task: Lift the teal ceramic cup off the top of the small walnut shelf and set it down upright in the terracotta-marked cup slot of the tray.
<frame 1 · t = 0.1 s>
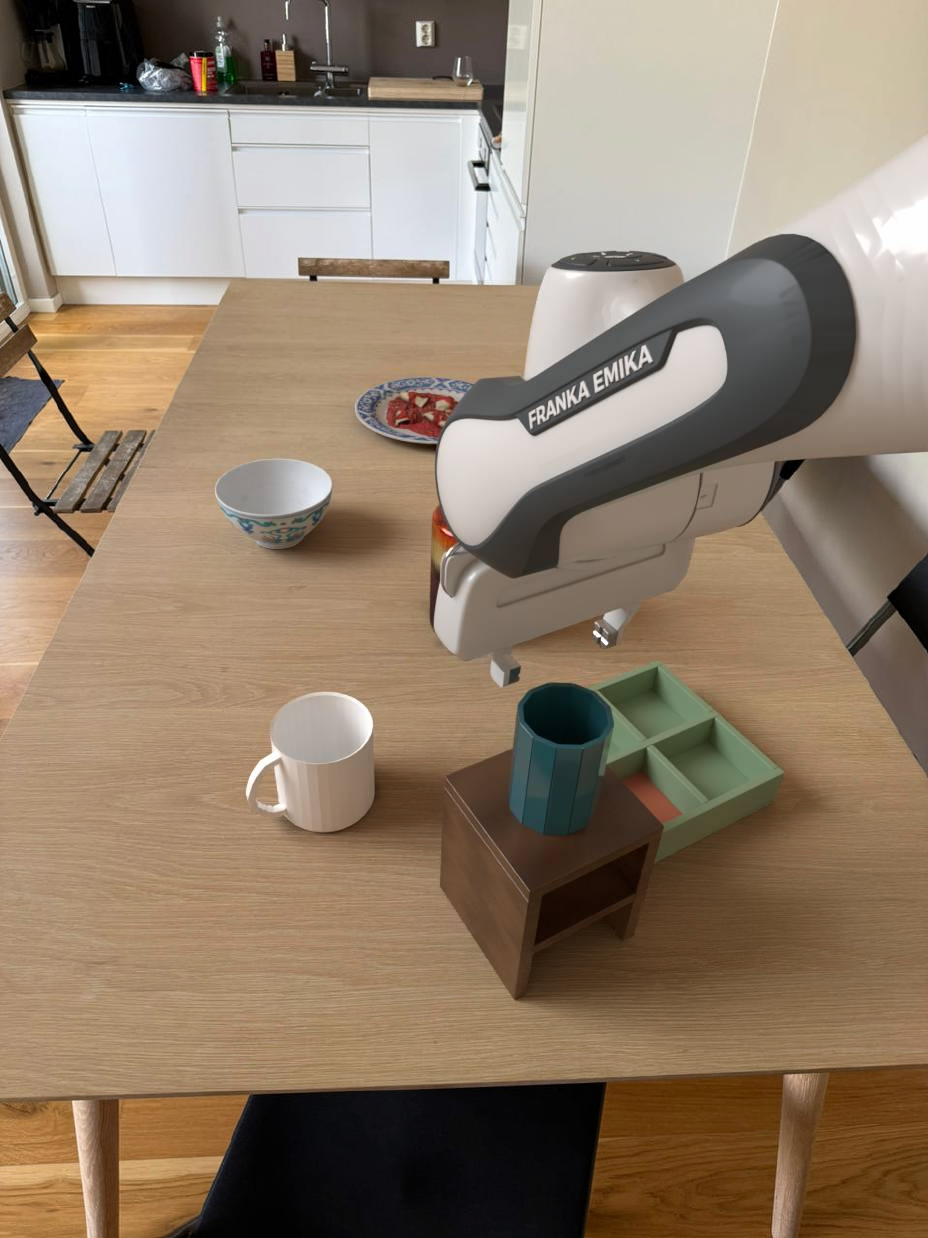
hand: (556, 661, 68), 22 cm above the table, tool pointing down, fingers open, 8 cm apart
cup: (552, 800, 67), point 14 cm above the table, touching shelf
vase: (473, 621, 107), on the table
tray: (639, 773, 89), on the table
mug: (312, 802, 84), on the table
chinaware: (279, 537, 120), on the table
ceramic plate: (431, 420, 151), on the table
shelf: (534, 909, 76), on the table
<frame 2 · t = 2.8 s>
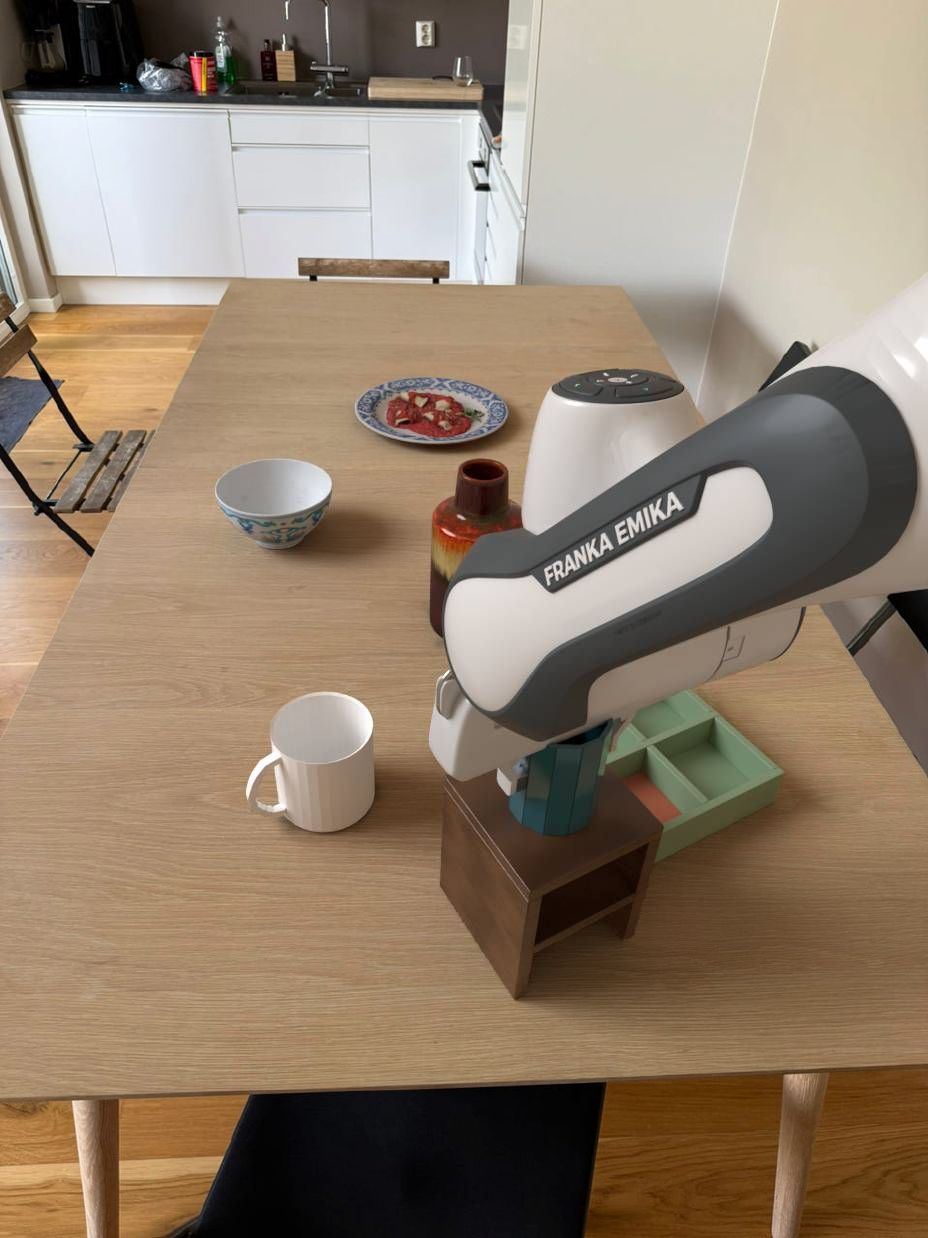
hand: (557, 766, 65), 18 cm above the table, tool pointing down, fingers closed on cup, 6 cm apart
cup: (551, 800, 67), point 14 cm above the table, touching gripper, shelf
everything else where it was.
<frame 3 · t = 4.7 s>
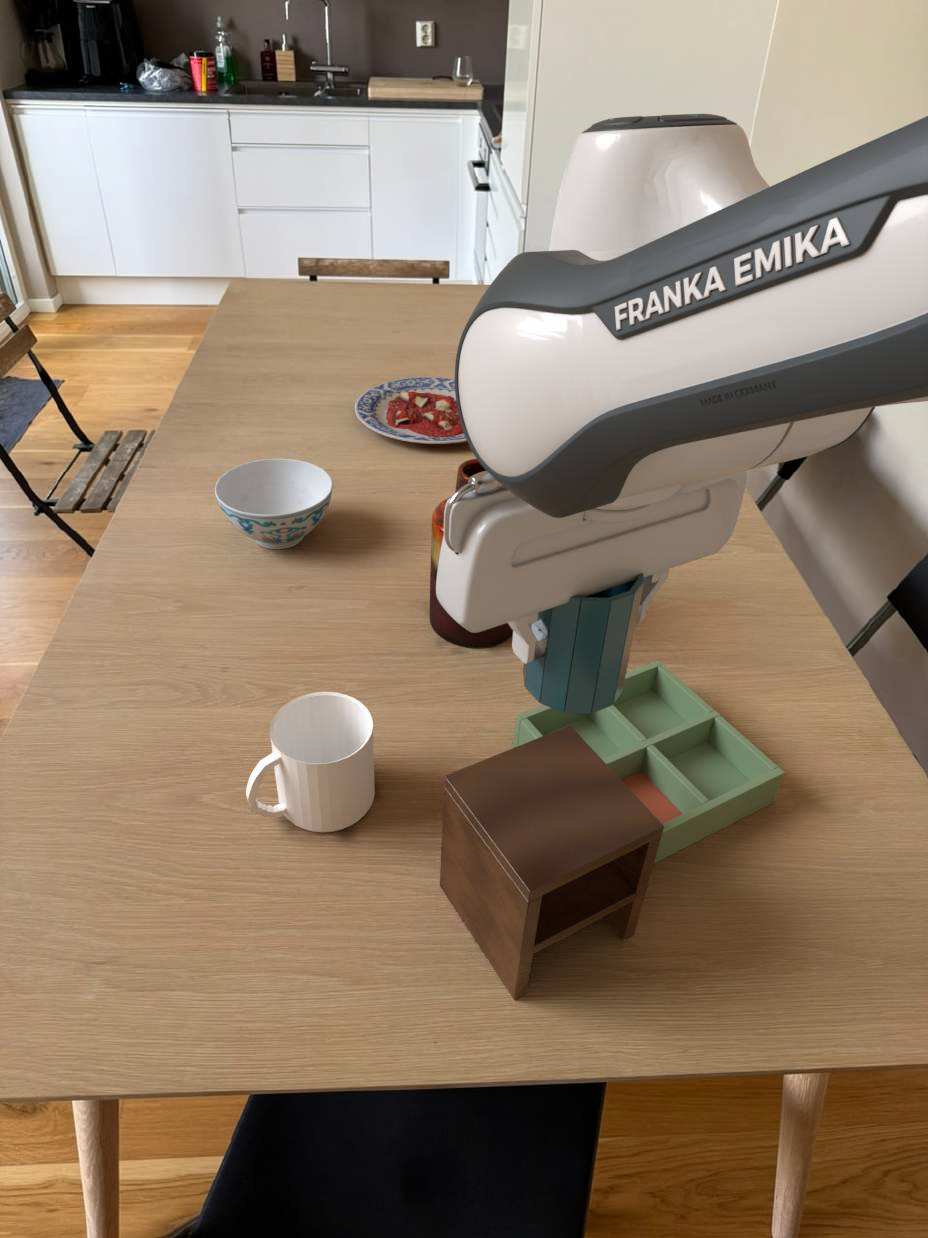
hand: (579, 637, 58), 30 cm above the table, tool pointing down, fingers closed on cup, 6 cm apart
cup: (572, 680, 60), point 26 cm above the table, touching gripper
everything else where it was.
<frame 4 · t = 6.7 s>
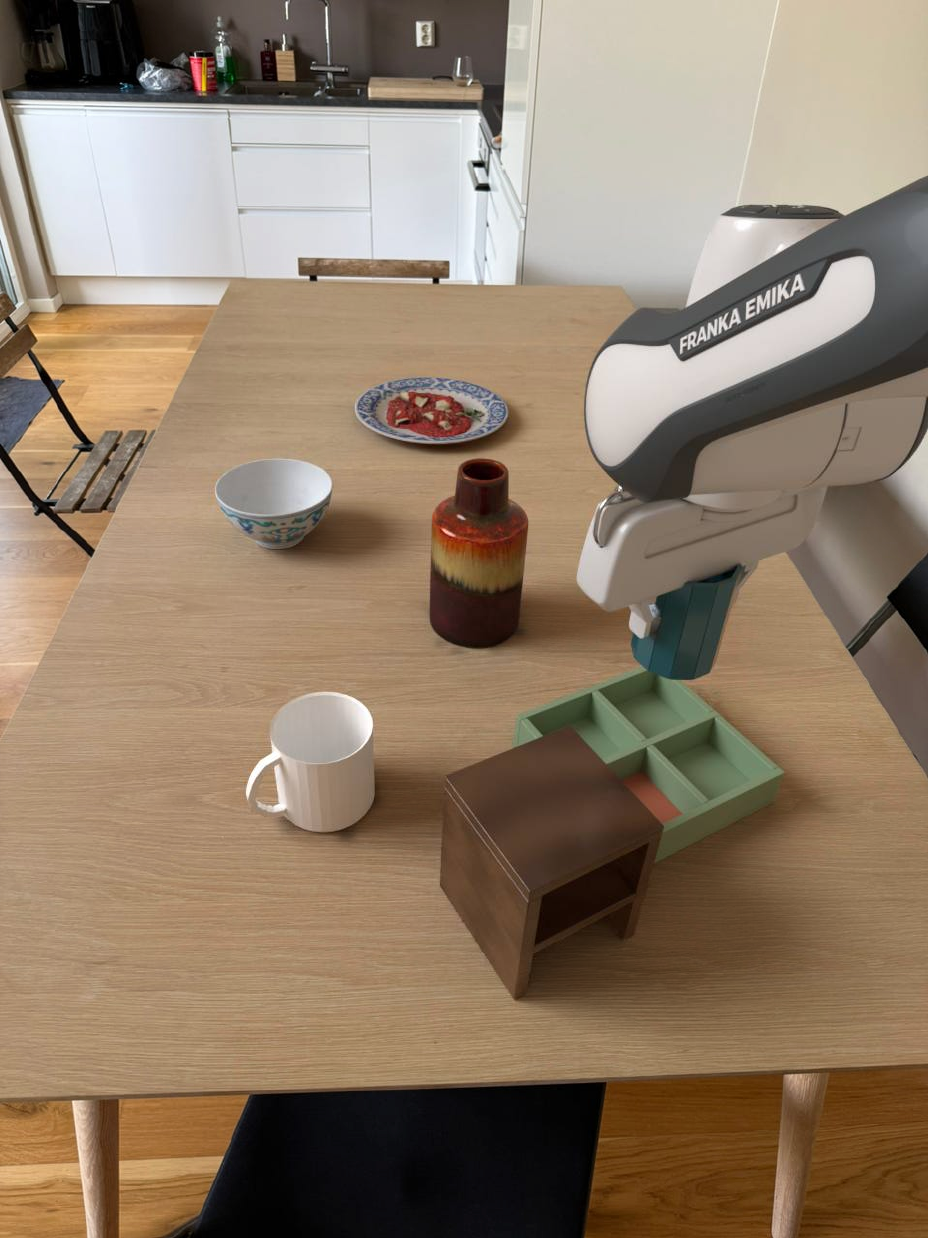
hand: (682, 616, 69), 24 cm above the table, tool pointing down, fingers closed on cup, 6 cm apart
cup: (673, 652, 71), point 21 cm above the table, touching gripper
everything else where it was.
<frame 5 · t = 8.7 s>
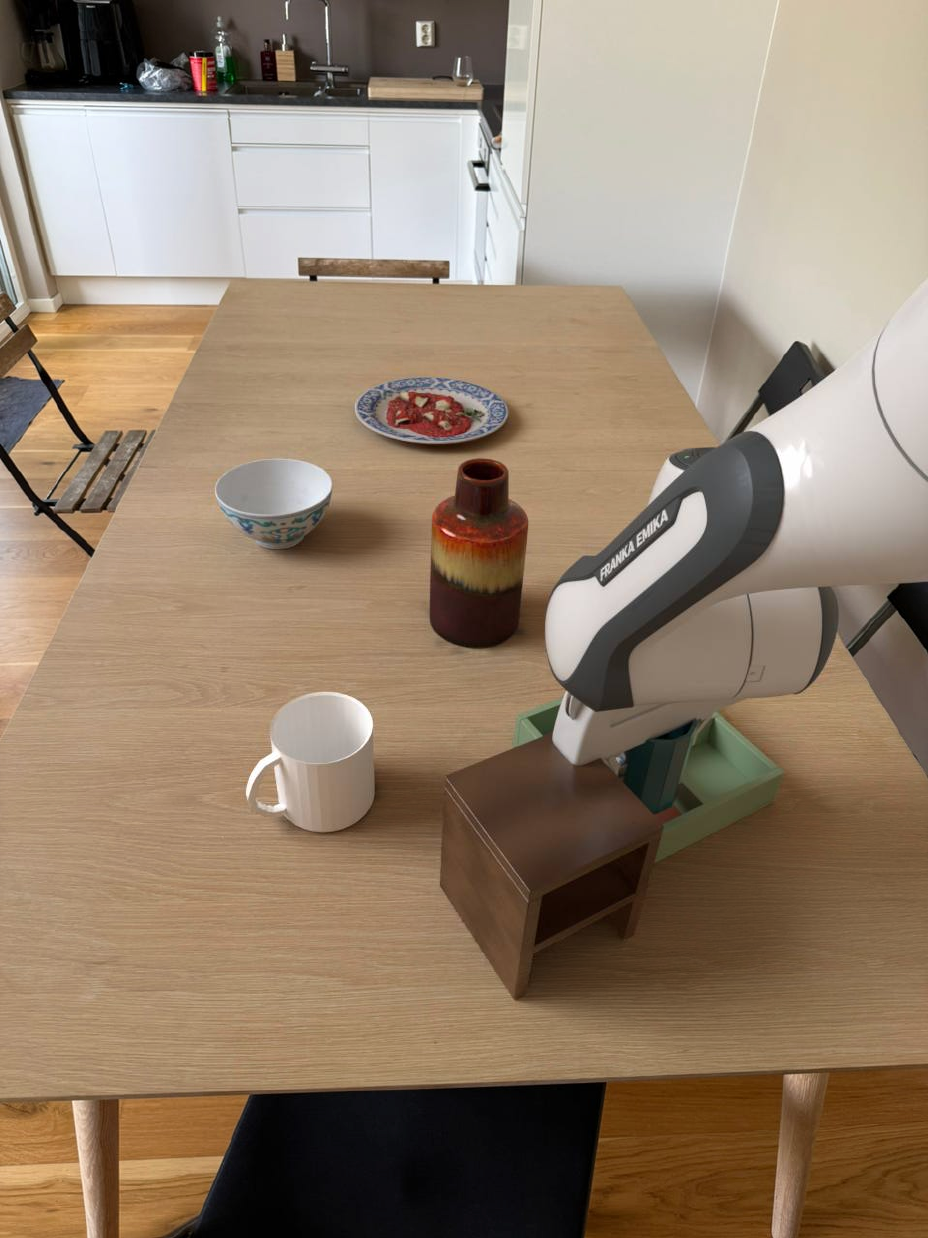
hand: (647, 758, 79), 8 cm above the table, tool pointing down, fingers closed on cup, 6 cm apart
cup: (640, 786, 81), point 5 cm above the table, touching gripper
everything else where it was.
when the fingers open (5 cm above the table, at t = 10.4 s): cup stays where it is, resting on tray.
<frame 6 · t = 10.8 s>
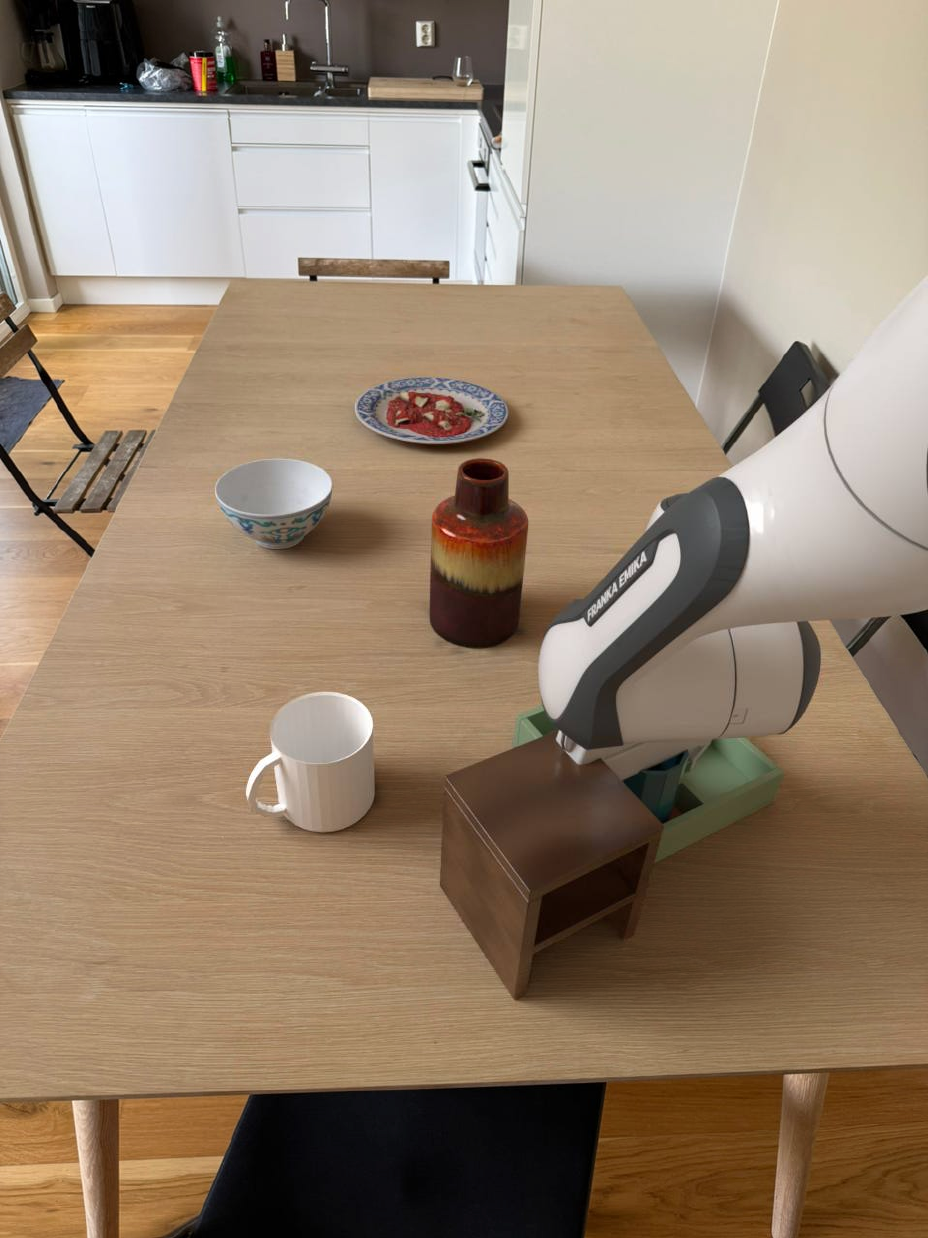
hand: (641, 786, 81), 5 cm above the table, tool pointing down, fingers open, 8 cm apart
cup: (633, 813, 83), point 1 cm above the table, touching tray
everything else where it was.
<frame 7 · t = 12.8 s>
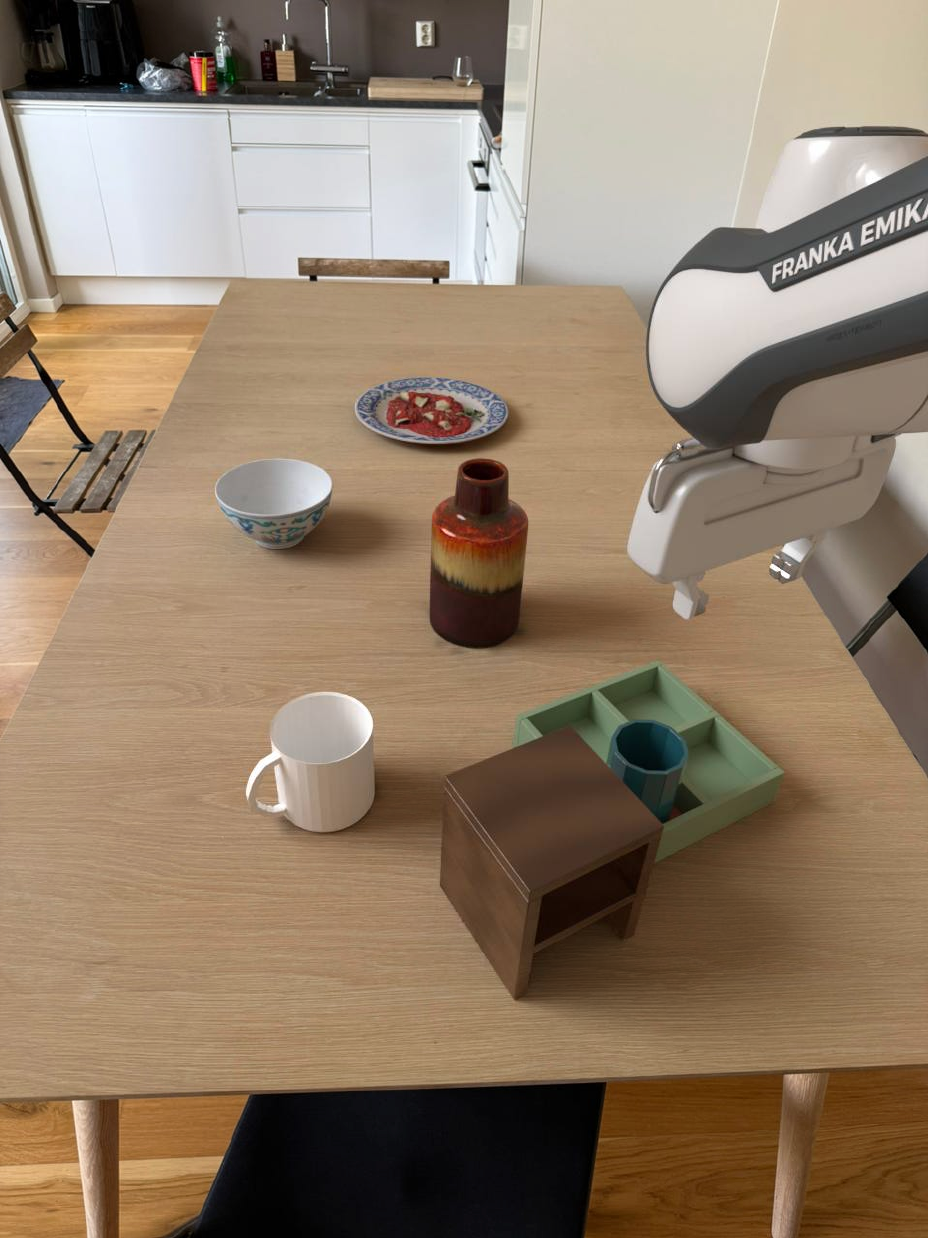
hand: (737, 594, 64), 29 cm above the table, tool pointing down, fingers open, 8 cm apart
nothing on the table moved.
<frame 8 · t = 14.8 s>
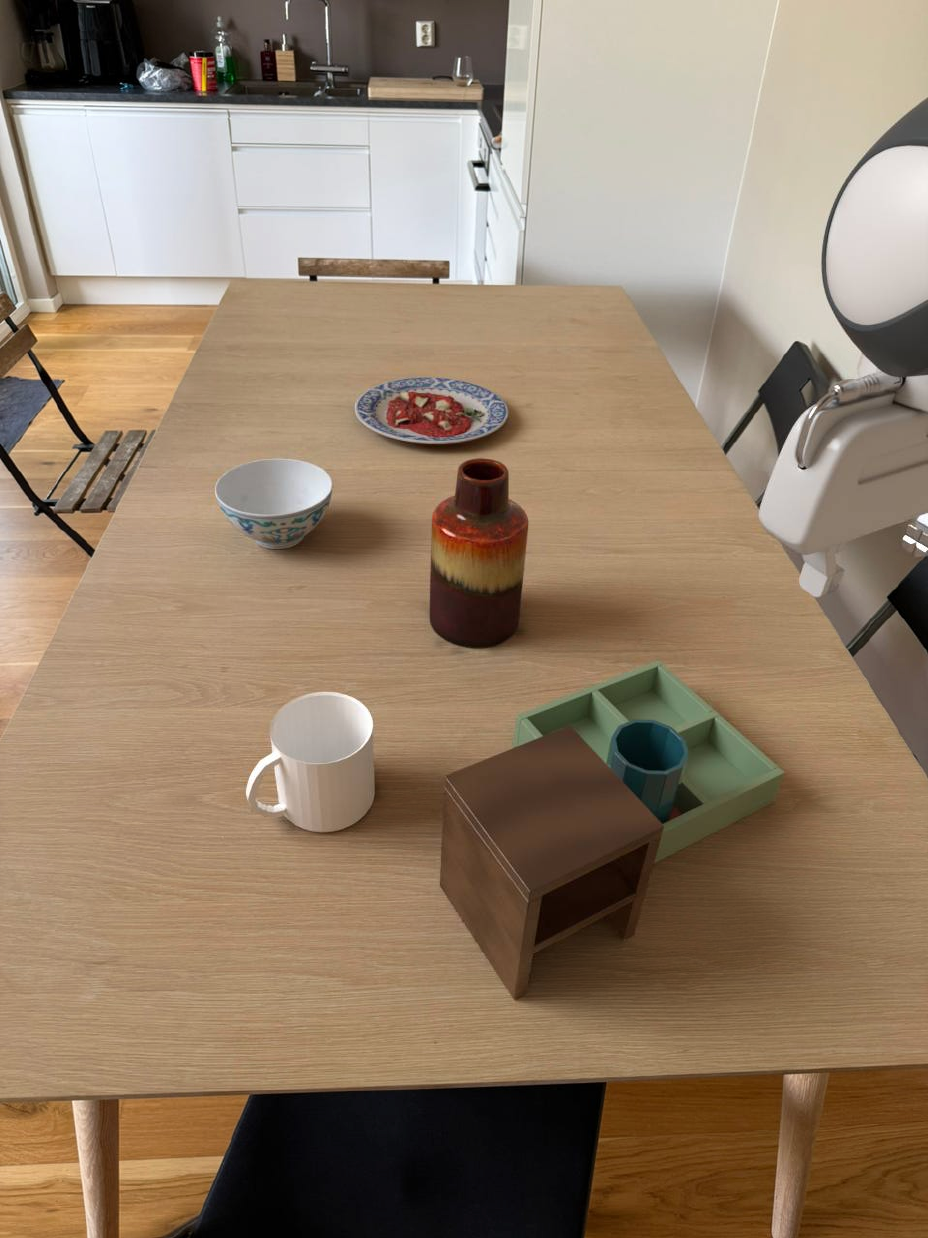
hand: (868, 569, 56), 35 cm above the table, tool pointing down, fingers open, 8 cm apart
nothing on the table moved.
at the end: cup 0.1 cm from the target spot in the tray, point 1.0 cm above the tray's base; cup tilted 0°; the gripper is holding nothing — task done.
